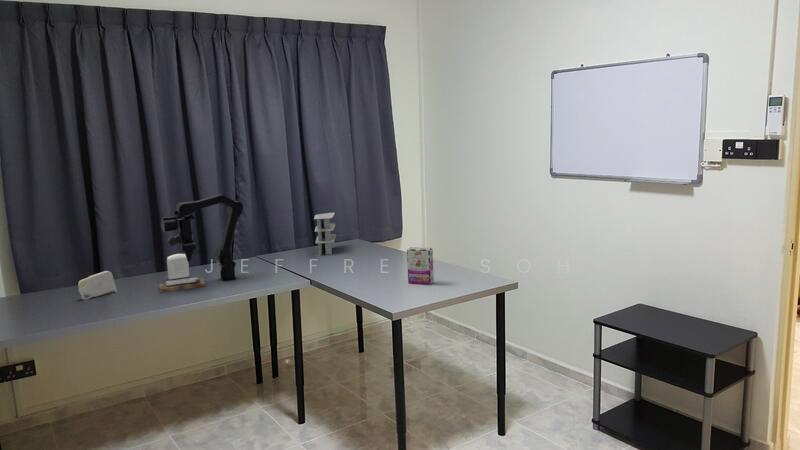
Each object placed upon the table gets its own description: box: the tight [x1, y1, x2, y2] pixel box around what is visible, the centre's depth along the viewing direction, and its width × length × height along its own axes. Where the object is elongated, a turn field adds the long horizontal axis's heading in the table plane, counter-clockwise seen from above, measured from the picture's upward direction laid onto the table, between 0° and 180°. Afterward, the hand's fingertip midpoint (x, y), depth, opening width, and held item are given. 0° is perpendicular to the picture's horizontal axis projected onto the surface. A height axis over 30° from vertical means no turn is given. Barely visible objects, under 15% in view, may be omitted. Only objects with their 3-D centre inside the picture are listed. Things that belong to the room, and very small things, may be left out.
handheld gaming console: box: [77, 270, 118, 301], centre depth 267 cm, size 11×3×15 cm
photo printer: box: [166, 253, 190, 281], centre depth 296 cm, size 10×4×12 cm, turn 123°
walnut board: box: [159, 276, 206, 293], centre depth 279 cm, size 20×10×3 cm, turn 115°
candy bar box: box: [406, 247, 435, 286], centre depth 269 cm, size 11×5×16 cm, turn 68°
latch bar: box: [165, 276, 200, 286], centre depth 279 cm, size 15×4×1 cm, turn 115°
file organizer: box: [313, 212, 337, 256], centre depth 346 cm, size 26×35×22 cm
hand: (188, 261), depth 278 cm, fingers closed
